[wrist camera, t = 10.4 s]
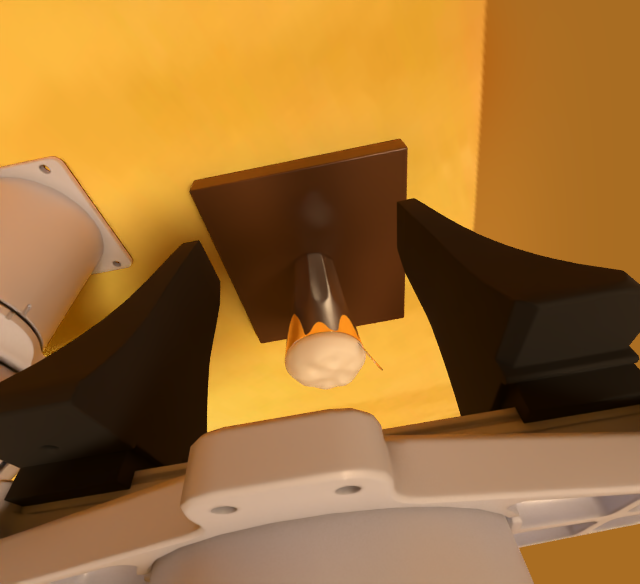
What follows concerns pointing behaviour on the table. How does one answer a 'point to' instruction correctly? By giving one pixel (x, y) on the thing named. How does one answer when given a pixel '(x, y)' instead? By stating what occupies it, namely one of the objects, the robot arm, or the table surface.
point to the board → (311, 230)
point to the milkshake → (321, 327)
